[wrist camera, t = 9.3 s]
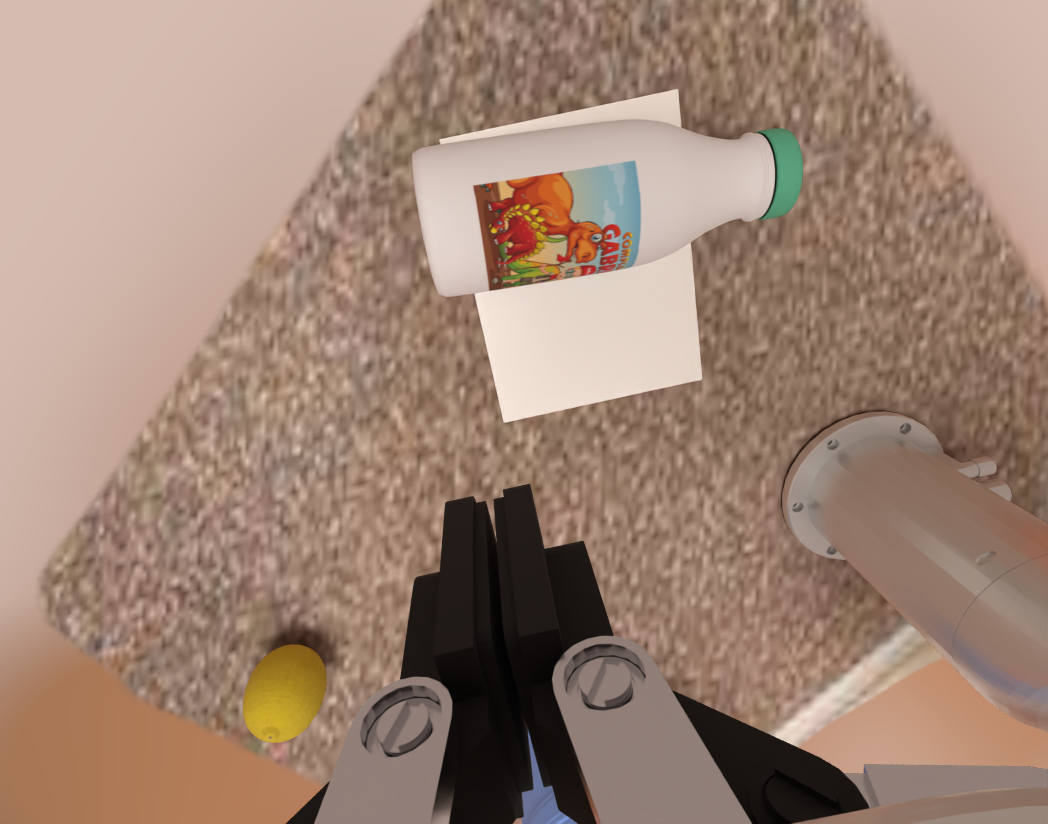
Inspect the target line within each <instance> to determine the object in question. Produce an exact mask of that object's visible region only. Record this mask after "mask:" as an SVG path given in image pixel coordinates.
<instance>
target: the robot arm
mask: <svg viewBox="0 0 1048 824" xmlns="http://www.w3.org/2000/svg"><path fill="white" fill-rule="evenodd" d="M996 470H997V468H996V464H995V462H994V460H993V459H991V458H990V457H987V456H985V457H980V458H976V459H971V460H968V461H966V462H962V463H960V462H959V461H957V460H955V459H953V458H951V457H950V456H948V455H946V454H944V452H943V449H942V446H941V444H940V442H939V441H938V439H937V438H936V436H935V435H934V434H933V433H932V432H931V431H930V430H929V429H928V428H927V427H926V426H924V425H922V424H921V423H919V422H917V421H915V420H914V419H912V418H909V417H907V416H904V415H902V414H899V413H892V412H886V411H883V412H868V413H863V414H859V415H854V416H852V417H849V418H847V419H844V420H842V421H839V422H837V423H836V424H834V425H832V426H831V427H829V428H827V429H825V430H824V431H823V432H821V433H820V434H819V435H818V436H817V437H815V438H814V439H813V440H812V441H811V442H810V443H809V444H808V445H807V446H806V447H805V448H804V449H803V450H802V452H801V453H800V454H799V456H798V457H797V459H796V460H795V462H794V463H793V465H792V466H791V468H790V471H789V473H788V475H787V478H786V480H785V484H784V489H783V493H782V509H783V514H784V519H785V521H786V523H787V525H788V528H789V530H790V531H791V532H792V533H793V535H794V536H795V537H796V538H797V539H798V540H799V541H800V542H801V543H802V544H803V545H804V546H805V547H806V548H807V549H809V550H810V551H812V552H814V553H816V554H817V555H820V556H823V557H826V558H830V559H839V560H847V561H848V562H849V563H850V564H851V565H852V566H853V567H854V568H855V569H856V570H857V571H858V572H859V573H860V574H861V575H862V576H863V577H864V578H865V579H866V580H867V581H868V582H869V583H870V584H871V585H872V586H873V587H874V588H875V589H876V590H877V591H878V592H879V593H880V594H881V595H882V596H883V597H884V598H885V599H886V600H887V601H888V602H889V603H890V604H891V605H892V606H893V607H894V608H895V609H896V610H897V611H898V612H899V613H900V614H901V615H902V616H903V617H904V618H905V619H906V620H907V621H908V622H909V623H910V624H911V625H912V626H913V627H914V628H915V629H916V630H917V631H918V632H919V633H920V634H921V635H922V636H923V637H924V638H925V639H926V640H927V641H928V642H929V643H930V644H931V645H932V646H933V647H934V648H935V649H936V650H937V651H938V652H939V653H940V654H941V655H942V656H943V657H944V658H945V659H946V660H947V661H948V662H949V663H950V664H951V665H952V666H953V667H954V668H955V669H956V670H957V671H958V672H959V673H960V674H961V675H962V676H963V677H964V678H965V679H966V680H967V681H968V682H969V683H970V684H971V685H972V686H973V687H974V688H975V689H976V690H977V691H978V692H979V693H980V694H981V695H982V696H983V697H984V698H985V699H987V700H988V701H989V702H990V703H991V704H993V705H994V706H995V707H997V708H998V709H1000V710H1001V711H1003V712H1004V713H1006V714H1007V715H1009V716H1011V717H1013V718H1015V719H1016V720H1018V721H1020V722H1023V723H1024V724H1027V725H1029V726H1032V727H1035V728H1037V729H1040V730H1043V731H1046V732H1048V524H1047V523H1045V522H1044V521H1042V520H1040V519H1039V518H1037V517H1035V516H1034V515H1032V514H1030V513H1029V512H1027V511H1025V510H1023V509H1022V508H1020V507H1018V506H1017V505H1015V504H1013V503H1012V502H1010V501H1011V497H1012V495H1011V490H1010V488H1009V486H1008V485H1007V484H1006V483H1005V482H1004V481H1003V480H1000V479H992V480H988V481H983V482H979V483H978V482H976V481H974V480H973V479H971V478H978V477H983V476H987V475H992V474H994V473H995V472H996ZM503 495H504V497H501V498H497V499H494V511H495V525H496V538H497V542H496V538H495V534H494V530H493V526H492V522H491V518H490V515H489V511H488V507H487V504H486V501H483V502H478V503H476V501H475V498H474V496H471V497H467V498H462V499H457V500H453V501H448V502H446V503H445V512H444V525H443V538H442V550H441V563H440V572H437V573H432V574H427V575H423V576H418V577H416V578H415V581H414V585H413V592H412V599H411V606H410V613H409V620H408V627H407V634H406V641H405V648H404V655H403V663H402V670H401V677H400V680H398V681H396V682H394V683H392V684H389V685H387V686H385V687H383V688H382V689H381V690H379V691H378V692H377V693H375V694H374V695H373V696H371V697H370V698H369V699H368V700H367V702H366V703H365V704H364V705H363V706H362V707H361V708H360V709H359V711H358V713H357V715H356V717H355V719H354V721H353V722H352V725H351V727H350V730H349V732H348V735H347V738H346V740H345V743H344V746H343V748H342V751H341V754H340V756H339V759H338V762H337V764H336V767H335V770H334V772H333V775H332V778H331V780H330V781H329V782H328V783H327V784H326V785H325V786H324V787H323V788H322V789H321V790H320V791H319V792H318V793H317V794H316V795H315V796H314V797H313V798H312V799H311V800H310V801H309V802H308V803H307V804H306V805H305V806H304V807H303V808H301V809H300V811H298V812H297V813H296V814H295V815H294V816H293V817H292V818H291V819H290V820H289V821H288V822H287V823H286V824H513V822H514V821H515V820H516V819H517V818H521V817H524V812H523V800H522V792H526V791H531V790H533V775H532V765H531V756H530V746H529V737H528V732H529V735H530V739H531V743H532V746H533V750H534V754H535V757H536V761H537V765H538V769H539V772H540V776H541V780H542V783H543V786H544V788H545V787H549V786H552V788H553V792H554V795H555V799H556V803H557V807H558V810H559V811H560V812H562V813H563V814H565V815H566V816H568V817H569V818H570V819H572V820H573V821H575V822H576V823H578V824H1048V769H1042V768H1036V767H1029V766H958V765H956V766H955V765H954V766H953V765H878V764H865V765H864V774H859V773H857V774H856V773H843V772H842V771H841V770H840V769H838V768H836V767H835V766H833V765H831V764H830V763H828V762H826V761H825V760H823V759H821V758H820V757H818V756H815V755H813V754H811V753H809V752H807V751H804V750H802V749H800V748H798V747H796V746H793V745H791V744H789V743H787V742H785V741H782V740H780V739H778V738H776V737H774V736H772V735H769V734H767V733H765V732H763V731H761V730H758V729H756V728H754V727H752V726H750V725H747V724H745V723H743V722H741V721H739V720H736V719H734V718H732V717H730V716H728V715H726V714H723V713H721V712H719V711H717V710H715V709H712V708H710V707H708V706H706V705H704V704H701V703H699V702H697V701H695V700H693V699H690V698H688V697H686V696H684V695H682V694H679V693H677V692H675V691H673V690H671V688H670V687H669V685H668V683H667V682H666V680H665V679H664V677H663V675H662V674H661V672H660V670H659V669H658V667H657V665H656V664H655V662H654V660H653V659H652V657H651V656H650V655H649V654H648V653H647V651H646V650H645V649H644V648H643V647H641V646H640V645H638V644H636V643H635V642H633V641H631V640H628V639H625V638H621V637H617V636H614V635H613V632H612V629H611V626H610V623H609V619H608V616H607V613H606V610H605V607H604V604H603V600H602V597H601V594H600V591H599V588H598V585H597V581H596V578H595V575H594V572H593V569H592V566H591V562H590V559H589V556H588V553H587V550H586V547H585V544H584V541H579V542H575V543H570V544H566V545H561V546H556V547H552V548H547V549H544V545H543V540H542V536H541V531H540V527H539V522H538V517H537V513H536V508H535V504H534V499H533V495H532V490H531V486H530V484H527V485H522V486H517V487H513V488H508V489H504V490H503Z"/></svg>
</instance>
